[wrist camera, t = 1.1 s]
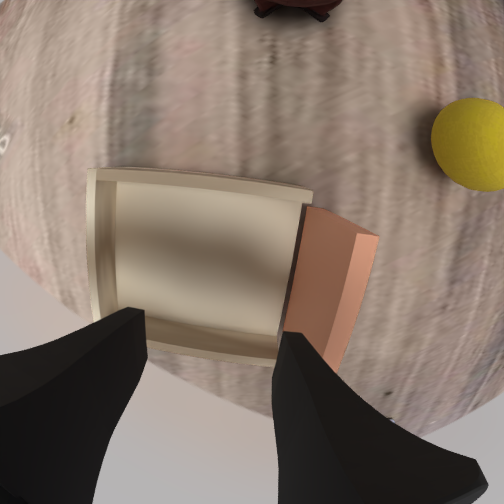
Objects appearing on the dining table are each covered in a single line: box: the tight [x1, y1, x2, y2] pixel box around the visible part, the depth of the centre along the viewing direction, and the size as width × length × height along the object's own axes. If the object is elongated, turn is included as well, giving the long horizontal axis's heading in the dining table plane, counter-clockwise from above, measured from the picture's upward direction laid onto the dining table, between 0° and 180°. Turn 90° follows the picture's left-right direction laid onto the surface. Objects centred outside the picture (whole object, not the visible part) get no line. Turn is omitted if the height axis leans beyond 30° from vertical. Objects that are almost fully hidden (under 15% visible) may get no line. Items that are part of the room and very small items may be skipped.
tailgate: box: [282, 206, 379, 374], centre depth 14 cm, size 1×8×6 cm, turn 172°
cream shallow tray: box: [86, 167, 313, 367], centre depth 16 cm, size 10×11×4 cm
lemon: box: [431, 98, 504, 192], centre depth 11 cm, size 6×6×8 cm
